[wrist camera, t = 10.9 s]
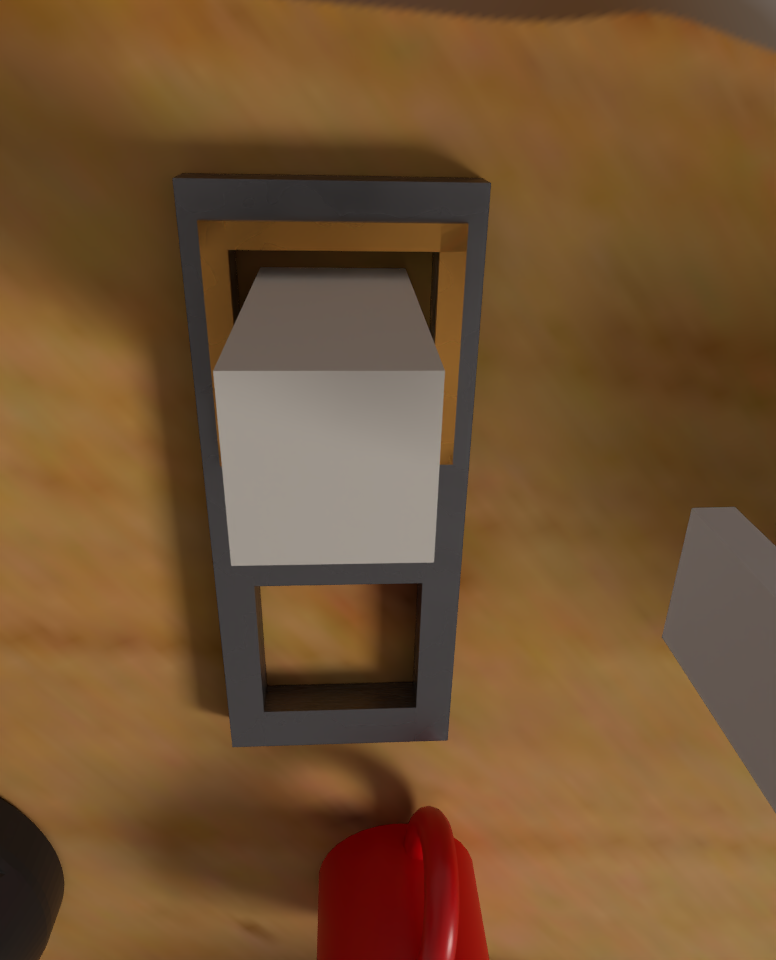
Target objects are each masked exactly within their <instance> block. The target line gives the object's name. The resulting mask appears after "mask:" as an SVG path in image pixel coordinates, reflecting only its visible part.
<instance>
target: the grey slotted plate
mask: <svg viewBox="0 0 776 960" xmlns="http://www.w3.org/2000/svg"><path fill="white" fill-rule="evenodd" d="M173 188H174V197H175V207H176V216H177V226H178V235H179V244H180V254H181V263H182V273H183V282H184V292H185V301H186V311H187V320H188V330H189V339H190V349H191V358H192V368H193V377H194V387H195V396H196V406H197V415H198V424H199V434H200V443H201V453H202V462H203V472H204V481H205V491H206V500H207V510H208V519H209V529H210V538H211V548H212V557H213V567H214V576H215V585H216V595H217V604H218V614H219V623H220V633H221V642H222V652H223V661H224V671H225V680H226V690H227V699H228V709H229V718H230V728H231V737H232V746H233V747H251V746H283V745H314V744H346V743H378V742H410V741H442V740H448V728H449V715H450V702H451V689H452V676H453V663H454V651H455V638H456V625H457V612H458V599H459V586H460V574H461V561H462V548H463V535H464V522H465V509H466V497H467V484H468V471H469V458H470V445H471V433H472V420H473V407H474V394H475V381H476V368H477V356H478V343H479V330H480V317H481V304H482V291H483V279H484V266H485V253H486V240H487V227H488V214H489V202H490V189H491V183H490V182H488V181H487V180H485V179H483V178H458V177H395V176H332V175H269V174H205V173H182V174H180V175H178V176H176V177H174V178H173ZM236 250H293V251H398V252H433V261H432V282H431V304H430V326H429V331H430V333H431V336H432V339H433V341H434V344H435V346H436V349H437V351H438V354H439V357H440V359H441V362H442V364H443V367H444V369H445V379H444V397H443V414H442V432H441V449H440V467H439V484H438V501H437V519H436V536H435V554H434V562H433V563H373V564H314V565H254V566H231V559H230V548H229V537H228V526H227V516H226V505H225V494H224V483H223V473H222V462H221V451H220V440H219V430H218V419H217V408H216V397H215V387H214V376H213V370H214V368H215V365H216V363H217V361H218V359H219V357H220V355H221V352H222V350H223V348H224V346H225V344H226V341H227V339H228V337H229V335H230V333H231V331H232V328H233V326H234V324H235V322H236V320H237V317H238V315H239V313H240V304H239V290H238V277H237V263H236ZM400 583H418V585H417V606H416V628H415V650H414V671H413V682H398V683H360V684H322V685H284V686H267V678H266V664H265V650H264V636H263V623H262V609H261V595H260V586H291V585H345V584H400Z"/></svg>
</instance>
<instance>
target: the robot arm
mask: <svg viewBox="0 0 776 960" xmlns="http://www.w3.org/2000/svg"><path fill="white" fill-rule="evenodd" d="M662 638H663V639H664V641H665V642H666V644H667V646H668V647H669V649H670V650H671V652H672V653H673V655H674V656H675V658H676V659H677V661H678V663H679V664H680V666H681V667H682V669H683V670H684V672H685V673H686V675H687V677H688V678H689V680H690V681H691V683H692V684H693V686H694V687H695V689H696V690H697V692H698V694H699V695H700V697H701V698H702V700H703V701H704V703H705V704H706V706H707V707H708V709H709V711H710V712H711V714H712V715H713V717H714V718H715V720H716V721H717V723H718V725H719V726H720V728H721V729H722V731H723V732H724V734H725V735H726V737H727V738H728V740H729V742H730V743H731V745H732V746H733V748H734V749H735V751H736V752H737V754H738V756H739V757H740V759H741V760H742V762H743V763H744V765H745V766H746V768H747V769H748V771H749V773H750V774H751V776H752V777H753V779H754V780H755V782H756V783H757V785H758V786H759V788H760V790H761V791H762V793H763V794H764V796H765V797H766V799H767V800H768V802H769V804H770V805H771V807H772V808H773V810H774V811H775V813H776V546H775V545H774V544H773V543H772V542H771V541H770V540H769V539H768V538H767V537H766V536H765V535H764V534H763V533H761V532H760V531H759V530H758V529H757V528H756V527H755V526H754V525H753V524H752V523H751V522H750V521H749V520H748V519H747V518H746V517H745V516H744V515H743V514H742V513H741V512H740V511H739V510H738V509H737V508H735V507H711V508H692V510H691V514H690V518H689V523H688V527H687V531H686V536H685V540H684V544H683V549H682V553H681V557H680V561H679V566H678V570H677V574H676V579H675V583H674V587H673V592H672V596H671V600H670V605H669V609H668V613H667V618H666V622H665V626H664V631H663V635H662ZM63 893H64V877H63V871H62V867H61V864H60V861H59V859H58V857H57V854H56V852H55V850H54V849H53V847H52V845H51V844H50V842H49V841H48V840H47V838H46V837H45V836H44V834H43V833H42V832H41V831H40V830H39V829H38V828H37V827H36V826H35V825H34V824H33V823H32V822H31V821H30V820H29V819H28V818H27V817H26V816H25V815H23V814H22V813H21V812H20V811H18V810H17V809H16V808H14V807H13V806H11V805H10V804H8V803H7V802H5V801H4V800H2V799H1V798H0V960H39V959H40V957H41V955H42V953H43V951H44V949H45V947H46V945H47V943H48V940H49V937H50V934H51V932H52V929H53V926H54V923H55V920H56V917H57V914H58V911H59V909H60V906H61V902H62V899H63Z"/></svg>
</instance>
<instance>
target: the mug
mask: <svg viewBox="0 0 776 960" xmlns="http://www.w3.org/2000/svg"><path fill="white" fill-rule="evenodd" d="M317 960H489V955H488V949H487V943H486V938H485V932H484V926H483V921H482V915H481V909H480V903H479V898H478V892H477V886H476V881H475V875H474V869H473V863H472V859H471V857H470V855H469V853H468V851H467V849H466V848H465V847H464V846H463V845H462V844H461V842H459V841H458V840H457V839H455V838H454V837H453V833H452V829H451V826H450V824H449V821H448V820H447V818H446V817H445V816H444V814H443V813H442V812H441V811H440V810H439V809H437V808H434V807H431V806H426V807H422V808H419V809H418V810H417V811H416V812H415V813H414V814H413V816H412V817H411V819H410V821H409V823H408V824H389V825H382V826H377V827H373V828H370V829H366V830H363V831H360V832H358V833H356V834H354V835H351V836H349V837H348V838H346V839H345V840H343V841H342V842H340V843H339V844H337V845H336V846H335V847H334V848H333V849H332V850H331V851H330V852H329V853H328V855H327V856H326V858H325V859H324V861H323V862H322V865H321V868H320V871H319V895H318V936H317Z"/></svg>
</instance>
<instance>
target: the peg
mask: <svg viewBox="0 0 776 960" xmlns="http://www.w3.org/2000/svg"><path fill="white" fill-rule="evenodd" d="M213 376H214V387H215V397H216V408H217V419H218V430H219V440H220V451H221V462H222V473H223V483H224V494H225V505H226V516H227V526H228V537H229V548H230V559H231V566H254V565H314V564H373V563H433V562H434V554H435V536H436V519H437V501H438V484H439V467H440V449H441V432H442V414H443V397H444V379H445V369H444V367H443V364H442V362H441V359H440V357H439V354H438V351H437V349H436V346H435V344H434V341H433V339H432V336H431V333H430V331H429V328H428V326H427V323H426V320H425V318H424V315H423V313H422V310H421V308H420V305H419V302H418V300H417V297H416V295H415V292H414V290H413V287H412V284H411V282H410V279H409V277H408V274H407V272H406V269H405V268H301V267H260V269H259V272H258V274H257V276H256V278H255V280H254V282H253V285H252V287H251V289H250V291H249V293H248V296H247V298H246V300H245V302H244V304H243V307H242V309H241V311H240V313H239V315H238V317H237V320H236V322H235V324H234V326H233V328H232V331H231V333H230V335H229V337H228V339H227V341H226V344H225V346H224V348H223V350H222V352H221V355H220V357H219V359H218V361H217V363H216V365H215V368H214V370H213Z"/></svg>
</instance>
